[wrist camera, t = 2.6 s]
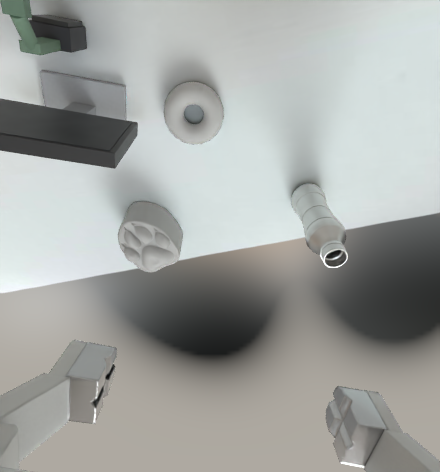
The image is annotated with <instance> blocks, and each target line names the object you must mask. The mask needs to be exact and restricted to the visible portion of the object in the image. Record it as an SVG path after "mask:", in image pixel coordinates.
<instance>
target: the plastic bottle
mask: <svg viewBox="0 0 440 472" xmlns="http://www.w3.org/2000/svg"><path fill="white" fill-rule="evenodd" d="M291 203H292V208H293V210H294V211H295V213H296V214H297V215H298V216H299V218H300V220H301V221H302V224H303V228H304V232H305V238H306V242H307V245H308V247H309V248H310V249H311V250H312V251H313V252H314V253H316V254H319V255H320V256H321V258H322V260H323V262H324V264H325V265H326V266H328V267H330V268H336V267H339V266H341V265H343V264H344V263H345V262H346V260H347V258H348V255H347V252H346V249H345V246H344V243H345V240H346V232H345V228H344V227H343V225H342V224H341V223H340V222H339V220H338V219H337V218H336V217H335V216H334V215H333V214H332V212H331V211H330V209H329V208H328V205H327V203H326V198H325V194H324V192H323V191H322V189H320V188H319V187H318V186H317V185H315V184H310V183H308V184H303V185H301V186H299V187H298V188H297V189H296V190H295V191H294V192H293V194H292V198H291Z"/></svg>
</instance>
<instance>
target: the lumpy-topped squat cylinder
mask: <svg viewBox="0 0 440 472" xmlns="http://www.w3.org/2000/svg"><path fill="white" fill-rule="evenodd" d="M182 238H183V232H182V230H181V228H180V226H179V224H178V223H177V221H176V220H175V219H174V217H173V216H172V215H171V214H170V213H169V212H168V211H167V210H166V209H164V208H163V207H161V206H159V205H156V204H154V203H151V202H145V201H139V202H135V203H133V204H132V205H131V206H130V207H129V209H128V211H127V213H126V215H125V218H124V220H123V222H122V224H121V226H120V229H119V232H118V240H119V245H120V248H121V250H122V251H123V252H124V254H125V256H126V258H127V259H128V260H129V261H130V262H133V263H134V264H135V265H136V266H137V267H138V268H140V269H141V270H143V271H146V272H155V271H158V270H159V269H161V268H162V267H164V266H167V265H171V264H174V263H176V262H177V261H178V259H179V256H180V251H181V244H182Z"/></svg>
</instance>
